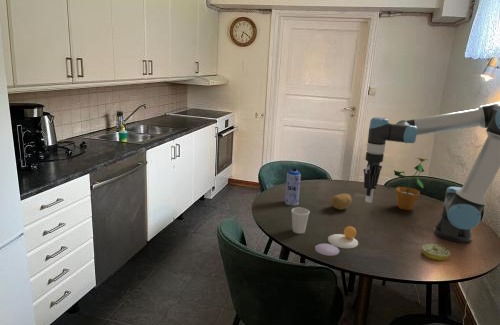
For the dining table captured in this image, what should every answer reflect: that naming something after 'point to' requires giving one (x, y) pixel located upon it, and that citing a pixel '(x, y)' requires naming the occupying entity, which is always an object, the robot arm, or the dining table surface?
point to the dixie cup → (299, 219)
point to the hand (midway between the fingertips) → (368, 201)
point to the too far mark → (327, 249)
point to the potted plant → (408, 190)
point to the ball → (350, 232)
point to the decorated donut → (435, 252)
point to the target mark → (342, 241)
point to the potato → (341, 201)
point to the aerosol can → (292, 187)
